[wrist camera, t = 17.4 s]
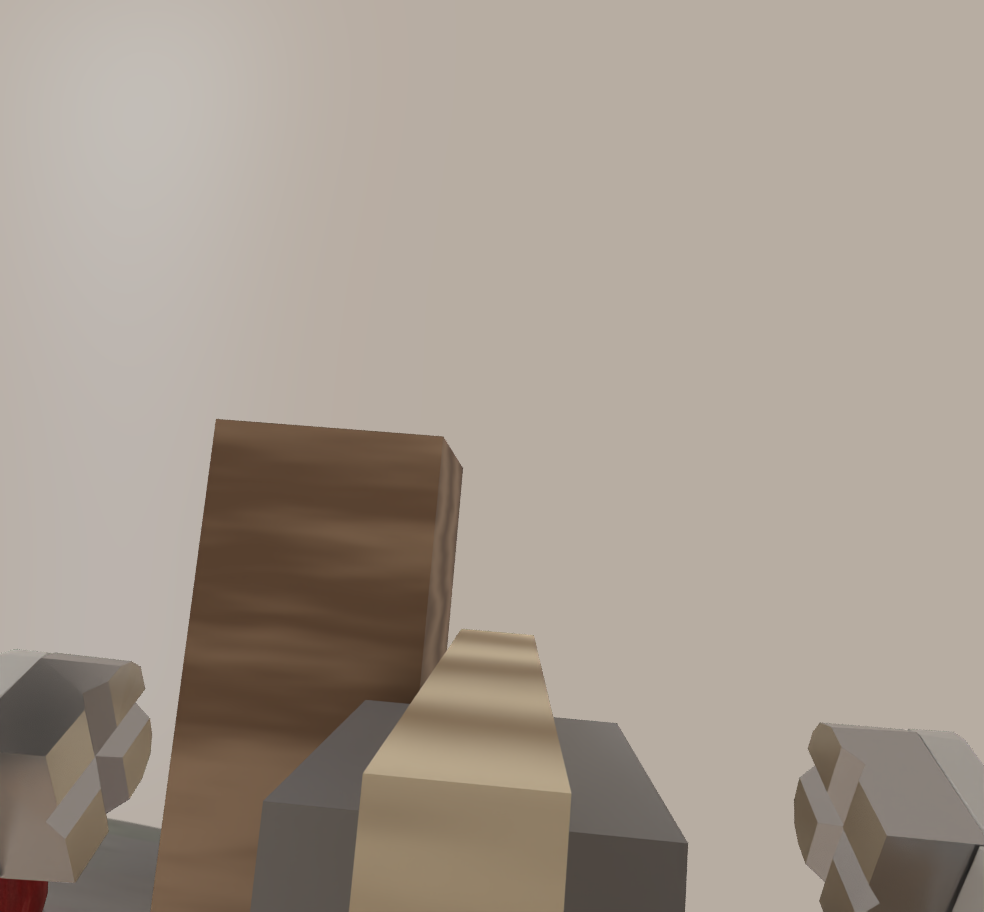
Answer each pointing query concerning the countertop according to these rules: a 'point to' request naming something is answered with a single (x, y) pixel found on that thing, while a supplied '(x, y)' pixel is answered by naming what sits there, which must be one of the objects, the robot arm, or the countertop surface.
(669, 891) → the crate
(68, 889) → the countertop surface
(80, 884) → the countertop surface
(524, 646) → the bar
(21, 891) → the red apple
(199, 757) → the pedestal
